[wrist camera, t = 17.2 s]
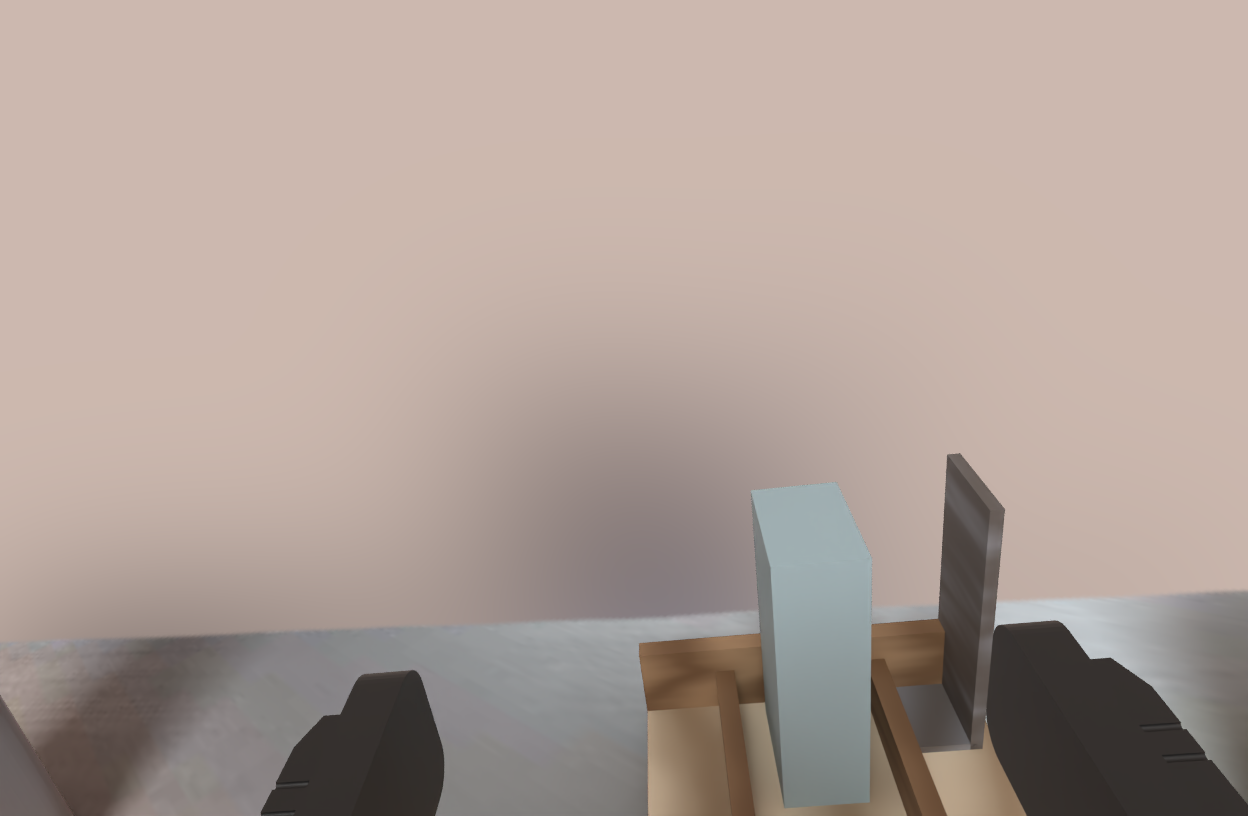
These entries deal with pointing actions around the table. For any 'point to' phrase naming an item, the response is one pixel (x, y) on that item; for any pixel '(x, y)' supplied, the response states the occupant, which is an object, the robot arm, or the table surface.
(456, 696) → the table surface
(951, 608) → the wooden holder stand
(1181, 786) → the robot arm
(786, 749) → the pale blue rectangular block
